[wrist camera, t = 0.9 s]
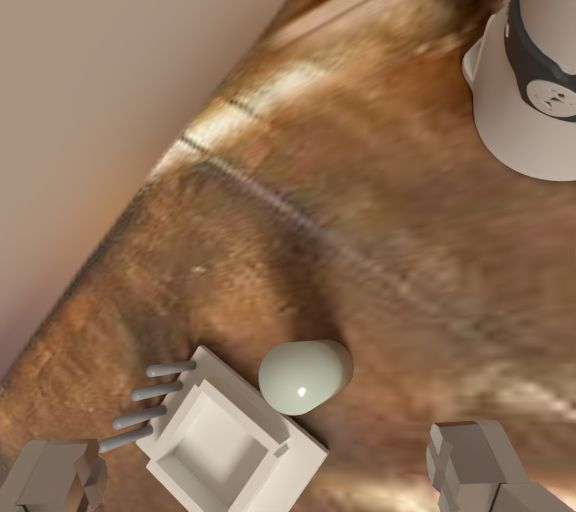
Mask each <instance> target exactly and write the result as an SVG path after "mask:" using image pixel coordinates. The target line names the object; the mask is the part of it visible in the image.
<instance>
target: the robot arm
mask: <svg viewBox="0 0 576 512" xmlns="http://www.w3.org/2000/svg"><path fill="white" fill-rule="evenodd" d="M502 5H503V8H502V9H501V10H500V11H499V12H498V13H497V14H493V15H492V16H491V17H490V19H489V20H488V22H487V25H486V29H485V33H484V35H483V36H482V37H481V38H480V39H479V40H478V41H477V42H476V43H475V44H474V45H473V46H472V47H471V48H470V49H469V51H468V52H467V53H466V54H465V56H464V58H463V61H462V72H463V74H464V77H465V79H466V81H467V82H468V84H469V86H470V88H471V89H472V93H473V109H474V119H475V124H476V127H477V130H478V133H479V135H480V137H481V139H482V141H483V142H484V144H485V145H486V147H487V148H488V149H489V150H490V152H491V153H492V154H493V155H494V156H495V157H496V158H498V159H499V160H500V161H501V162H503V163H504V164H505V165H507V166H508V167H510V168H512V169H514V170H516V171H518V172H520V173H522V174H525V175H528V176H531V177H535V178H539V179H544V180H553V181H571V180H576V0H503V3H502ZM430 434H431V437H432V440H433V441H432V442H431V443H430V444H429V445H428V447H427V454H426V457H427V468H428V473H429V477H430V480H431V483H432V486H433V487H434V488H435V489H436V490H437V491H439V492H440V497H439V502H438V505H439V508H440V511H441V512H575V511H574V510H573V509H571V508H570V507H569V506H567V505H566V504H565V503H564V502H562V501H561V500H560V499H558V498H557V497H556V496H555V495H553V494H552V493H551V492H549V491H548V490H547V489H546V488H544V487H543V486H542V485H541V484H539V483H538V482H531V481H530V479H529V477H528V475H527V473H526V471H525V470H524V468H523V466H522V464H521V462H520V460H519V458H518V456H517V455H516V453H515V451H514V449H513V447H512V445H511V443H510V441H509V440H508V438H507V436H506V434H505V432H504V430H503V428H502V426H501V425H500V423H498V422H497V421H496V420H491V421H475V422H474V421H462V422H445V423H434V424H433V425H432V427H431V432H430ZM99 449H100V446H99V444H98V442H97V439H56V440H30V441H29V442H28V443H27V444H26V445H25V446H24V447H23V449H22V451H21V453H20V455H19V457H18V458H17V460H16V462H15V464H14V466H13V468H12V469H11V471H10V473H9V475H8V477H7V479H6V480H5V483H4V484H3V486H2V488H1V490H0V512H93V511H92V510H93V509H94V508H95V507H96V506H97V505H98V504H99V503H100V502H101V501H102V499H103V496H104V493H105V490H106V483H107V466H106V463H105V460H104V459H103V458H101V457H100V456H98V452H99Z"/></svg>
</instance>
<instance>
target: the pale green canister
mask: <svg viewBox="0 0 576 512" xmlns="http://www.w3.org/2000/svg"><path fill="white" fill-rule="evenodd" d="M353 371H354V365H353V360H352V357H351V355H350V353H349V351H348V350H347V349H346V348H345V347H344V346H343V345H342V344H341V343H339V342H337V341H334V340H330V339H323V340H312V341H300V342H289V343H283V344H280V345H278V346H276V347H274V348H273V349H271V350H270V351H269V352H268V353H267V355H266V356H265V357H264V359H263V361H262V363H261V366H260V369H259V386H260V390H261V393H262V395H263V397H264V398H265V400H266V401H267V403H268V404H269V405H270V406H271V407H272V408H274V409H275V410H277V411H279V412H281V413H283V414H287V415H300V414H304V413H306V412H308V411H310V410H312V409H313V408H315V407H316V406H318V405H319V404H321V403H323V402H324V401H326V400H327V399H329V398H331V397H332V396H334V395H335V394H337V393H338V392H340V391H342V390H343V389H344V388H345V387H346V386H347V385H348V384H349V382H350V381H351V379H352V376H353Z"/></svg>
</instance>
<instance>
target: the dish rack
mask: <svg viewBox="0 0 576 512" xmlns="http://www.w3.org/2000/svg"><path fill="white" fill-rule="evenodd" d="M179 372H182V373H181V374H180V376H179V377H178V379H177V380H176V381H173V382H168V383H163V384H158V385H153V386H148V387H143V388H138V389H133V390H132V391H131V394H130V397H131V399H132V400H133V401H138V400H142V399H146V398H151V397H155V396H159V395H163V394H167V393H168V394H167V396H166V397H165V399H164V400H163V402H162V403H161V405H159V406H156V407H152V408H149V409H145V410H141V411H138V412H134V413H130V414H127V415H123V416H119V417H116V418H114V419H113V420H112V427H113V428H114V429H120V428H123V427H127V426H130V425H133V424H136V423H140V422H143V421H146V420H149V419H151V420H150V421H149V423H148V424H147V426H144V427H141V428H138V429H135V430H132V431H129V432H126V433H123V434H120V435H117V436H114V437H111V438H108V439H105V440H102V441H99V442H98V444H99V446H100V449H99V453H103V452H106V451H109V450H111V449H114V448H117V447H120V446H122V445H125V444H128V443H130V442H133V441H136V440H137V441H136V444H137V445H138V446H139V447H140V448H141V449H142V450H143V451H144V452H145V453H146V454H147V455H148V456H149V457H150V458H151V460H150V462H149V463H148V465H147V466H146V468H147V469H148V470H149V471H150V472H151V473H152V474H153V475H154V476H155V477H156V478H157V479H158V480H159V481H160V482H161V483H162V484H163V485H164V486H165V487H166V488H167V489H168V490H169V491H170V492H171V494H172V495H173V496H174V497H175V498H176V499H177V500H178V501H179V502H180V503H181V504H182V505H183V506H184V507H185V508H186V509H187V510H188V511H189V512H289V511H290V509H291V508H292V506H293V505H294V503H295V502H296V500H297V499H298V497H299V496H300V495H301V493H302V492H303V490H304V489H305V487H306V486H307V484H308V483H309V481H310V480H311V479H312V477H313V476H314V474H315V473H316V471H317V470H318V468H319V467H320V465H321V464H322V462H323V461H324V460H325V458H326V457H327V455H328V454H329V452H330V451H329V450H328V449H327V448H325V447H324V446H323V445H322V444H321V443H319V442H318V441H317V440H316V439H315V438H313V437H312V436H311V435H310V434H309V433H308V432H306V431H305V430H304V429H303V428H302V427H300V426H299V425H298V424H297V423H296V422H294V421H293V420H292V419H291V418H290V417H289V416H287V415H286V414H283V413H281V412H279V411H277V410H275V409H274V408H272V407H271V406H270V405H269V404H268V403H267V401H266V400H265V398H264V397H263V395H262V394H261V393H260V392H259V391H258V390H257V389H255V388H254V387H253V386H252V385H251V384H249V383H248V382H247V381H246V380H245V379H243V378H242V377H241V376H240V375H239V374H238V373H236V372H235V371H234V370H233V369H232V368H230V367H229V366H228V365H227V364H226V363H224V362H223V361H222V360H221V359H220V358H219V357H217V356H216V355H215V354H214V353H213V352H211V351H210V350H209V349H208V348H207V347H205V346H204V345H203V346H199V347H198V349H197V350H196V352H195V353H194V355H193V356H192V358H191V359H190V360H188V361H180V362H172V363H165V364H157V365H150V366H148V367H147V369H146V374H147V376H148V377H155V376H161V375H167V374H173V373H179Z"/></svg>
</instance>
